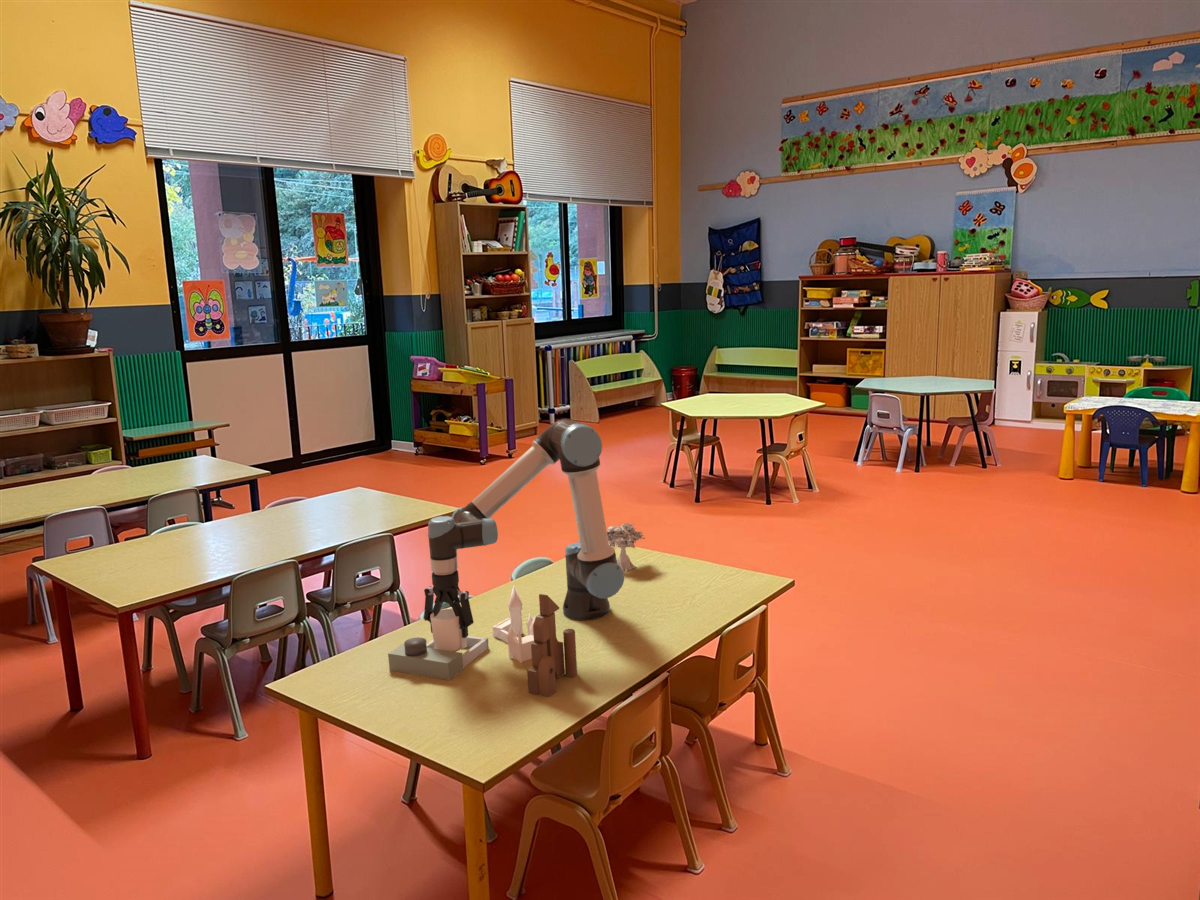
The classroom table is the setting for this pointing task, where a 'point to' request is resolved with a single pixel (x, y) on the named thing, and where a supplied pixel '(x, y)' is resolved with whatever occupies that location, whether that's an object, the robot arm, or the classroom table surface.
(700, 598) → the classroom table surface
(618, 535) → the tree
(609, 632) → the classroom table surface
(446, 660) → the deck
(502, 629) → the toy castle
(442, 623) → the mug
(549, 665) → the wooden toy
